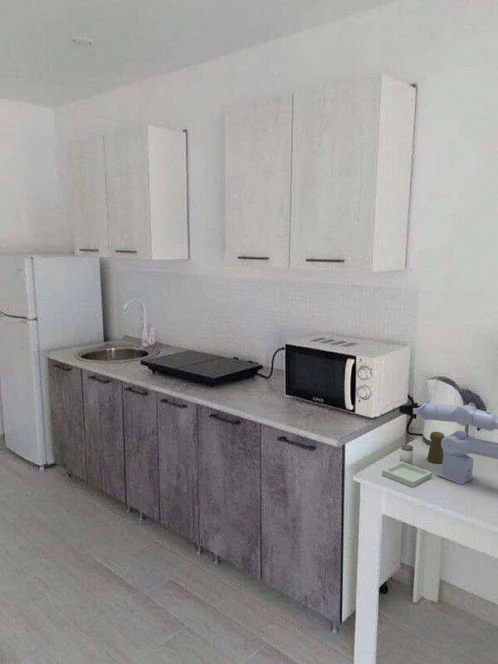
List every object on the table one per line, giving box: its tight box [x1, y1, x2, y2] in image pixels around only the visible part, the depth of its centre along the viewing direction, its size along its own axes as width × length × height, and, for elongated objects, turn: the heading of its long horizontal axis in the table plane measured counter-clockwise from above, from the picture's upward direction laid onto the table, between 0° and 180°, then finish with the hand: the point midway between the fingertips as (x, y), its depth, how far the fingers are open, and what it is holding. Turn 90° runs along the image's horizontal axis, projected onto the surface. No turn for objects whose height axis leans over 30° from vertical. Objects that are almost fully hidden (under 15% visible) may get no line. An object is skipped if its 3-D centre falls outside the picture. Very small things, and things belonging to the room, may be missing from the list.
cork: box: [426, 431, 446, 465], centre depth 195 cm, size 6×6×11 cm
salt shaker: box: [399, 443, 414, 465], centre depth 191 cm, size 4×4×7 cm
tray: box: [381, 461, 433, 488], centre depth 181 cm, size 12×12×2 cm
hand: (405, 409), depth 193 cm, fingers open, 7 cm apart
